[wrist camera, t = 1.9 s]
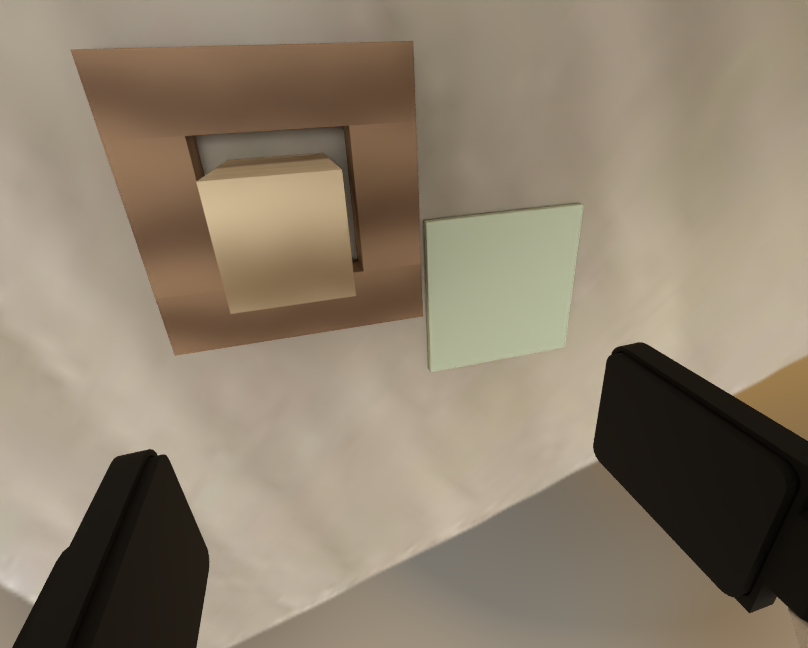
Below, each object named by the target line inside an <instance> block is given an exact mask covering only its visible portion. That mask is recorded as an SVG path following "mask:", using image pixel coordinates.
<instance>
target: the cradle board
mask: <svg viewBox="0 0 808 648" xmlns="http://www.w3.org/2000/svg"><path fill="white" fill-rule="evenodd" d="M71 52H72V55H73V58H74V61H75V64H76V67H77V70H78V73H79V76H80V79H81V82H82V85H83V87H84V90H85V93H86V96H87V99H88V102H89V105H90V108H91V111H92V114H93V117H94V120H95V123H96V126H97V128H98V131H99V134H100V137H101V140H102V143H103V146H104V149H105V152H106V155H107V158H108V161H109V164H110V167H111V170H112V172H113V175H114V178H115V181H116V184H117V187H118V190H119V193H120V196H121V199H122V202H123V205H124V208H125V211H126V214H127V216H128V219H129V222H130V225H131V228H132V231H133V234H134V237H135V240H136V243H137V246H138V249H139V252H140V255H141V258H142V260H143V263H144V266H145V269H146V272H147V275H148V278H149V281H150V284H151V287H152V290H153V293H154V296H155V299H156V301H157V304H158V307H159V310H160V313H161V316H162V319H163V322H164V325H165V328H166V331H167V334H168V337H169V340H170V343H171V345H172V348H173V351H174V354H175V355H181V354H188V353H194V352H200V351H207V350H213V349H219V348H226V347H232V346H238V345H245V344H251V343H257V342H263V341H270V340H276V339H282V338H289V337H295V336H301V335H308V334H314V333H320V332H327V331H333V330H339V329H345V328H352V327H358V326H364V325H371V324H377V323H383V322H390V321H396V320H402V319H409V318H415V317H421V316H423V301H422V273H421V246H420V218H419V191H418V163H417V136H416V108H415V80H414V53H413V41H401V42H360V43H320V44H279V45H238V46H198V47H157V48H116V49H75V50H71ZM335 126H344V134H345V143H346V153H347V162H348V172H349V181H350V191H351V200H352V210H353V219H354V229H355V238H356V248H357V257H358V260H354V261H352V264H353V273H354V282H355V291H356V296H352V297H345V298H338V299H331V300H324V301H317V302H310V303H303V304H296V305H289V306H282V307H276V308H269V309H262V310H255V311H248V312H241V313H234V314H230V310H229V306H228V302H227V298H226V295H225V291H224V287H223V283H222V279H221V275H220V271H219V268H218V264H217V260H216V256H215V252H214V248H213V244H212V241H211V237H210V233H209V229H208V225H207V221H206V217H205V214H204V210H203V206H202V202H201V198H200V194H199V190H198V187H197V183H196V181H198V180H199V179H201V178H202V177H204V172H203V168H202V164H201V160H200V156H199V152H198V148H197V144H196V140H195V136H194V135H209V134H224V133H240V132H256V131H272V130H288V129H303V128H319V127H335Z"/></svg>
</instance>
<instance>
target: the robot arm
mask: <svg viewBox="0 0 808 648" xmlns="http://www.w3.org/2000/svg"><path fill="white" fill-rule="evenodd" d="M593 449H594V453H595V455H596V457H597V459H598V460H599V462H600V463H601V464H602V465H603V466H604V467H605V468H606V469H607V470H608V471H609V472H610V473H611V474H612V475H613V477H614V478H616V480H617V481H618V482H619V483H620V484H621V485H622V486H623V487H624V488H625V489H626V490H627V491H628V492H629V493H630V495H632V497H633V498H634V499H635V500H636V501H637V502H638V503H639V504H640V505H641V506H642V507H643V508H644V509H645V510H646V512H648V514H649V515H650V516H651V517H652V518H653V519H654V520H655V521H656V522H657V523H658V524H659V525H660V526H661V527H662V528H663V530H664V531H665V532H666V533H667V534H668V535H669V536H670V537H671V538H672V539H673V540H674V541H675V542H676V543H677V544H678V545H679V546H680V548H681V549H682V550H683V551H684V552H685V553H686V554H687V555H688V556H689V557H690V558H691V559H692V560H693V561H694V562H695V563H696V565H697V566H698V567H699V568H700V569H701V570H702V571H703V572H704V573H705V574H706V575H707V576H708V577H709V578H710V579H711V580H712V581H713V582H714V583H715V585H716V586H717V587H718V588H719V589H720V590H721V591H722V592H724V593H725V594H727V595H728V596H731V597H734V598H735V599H736V600H737V601H738V602H739V603H740V604H741V605H742V606H743V607H744V608H745V609H746V610H747V611H748V612H749V613H751V612H754V611H756V610H759V609H761V608H764V607H767V606H769V605H772V604H773V603H774V601H775V599H776V597H778V598H779V599H781V601H782V602H784V603H785V604H786V605H787V606H788V610H789V613H790V616H791V620H792V623H793V626H794V630H795V633H796V636H797V640H798V643H799V646H800V648H808V441H807V440H805V439H803V438H801V437H800V436H798V435H796V434H795V433H793V432H792V431H790V430H788V429H787V428H785V427H783V426H782V425H780V424H778V423H777V422H775V421H773V420H772V419H770V418H768V417H767V416H765V415H763V414H762V413H760V412H759V411H757V410H755V409H754V408H752V407H750V406H749V405H747V404H745V403H744V402H742V401H740V400H739V399H737V398H735V397H734V396H732V395H730V394H729V393H727V392H725V391H724V390H722V389H720V388H719V387H717V386H715V385H714V384H712V383H710V382H709V381H707V380H705V379H704V378H702V377H700V376H699V375H697V374H695V373H694V372H692V371H690V370H689V369H687V368H685V367H684V366H682V365H680V364H679V363H677V362H675V361H674V360H672V359H670V358H669V357H667V356H666V355H664V354H662V353H661V352H659V351H657V350H656V349H654V348H652V347H651V346H649V345H647V344H645V343H640V342H638V343H634V344H629V345H624V346H620V347H617V348H615V349H614V350H613V351H612V354H611V355H610V356H609V357H608V359H607V362H606V369H605V375H604V381H603V387H602V394H601V400H600V406H599V412H598V419H597V425H596V431H595V437H594V443H593ZM208 572H209V554H208V550H207V547H206V545H205V542H204V540H203V538H202V535H201V533H200V530H199V528H198V526H197V523H196V521H195V519H194V516H193V514H192V512H191V509H190V507H189V505H188V502H187V500H186V498H185V495H184V493H183V491H182V488H181V486H180V484H179V481H178V479H177V477H176V474H175V472H174V470H173V467H172V465H171V463H170V460H169V458H168V457H167V456H166V455H159V456H158V455H157V453H156V452H155V451H154V450H151V449H149V450H144V451H140V452H135V453H130V454H126V455H121V456H117V457H116V458H114V459H113V461H112V462H111V464H110V466H109V468H108V470H107V472H106V474H105V476H104V478H103V480H102V482H101V484H100V486H99V488H98V490H97V492H96V494H95V496H94V498H93V500H92V502H91V504H90V506H89V508H88V510H87V512H86V514H85V516H84V518H83V520H82V522H81V524H80V526H79V528H78V530H77V532H76V534H75V536H74V538H73V540H72V542H71V544H70V546H69V547H68V548H67V549H66V550H64V551H63V552H62V554H61V555H60V557H59V558H58V560H57V561H56V563H55V565H54V567H53V569H52V571H51V573H50V575H49V577H48V579H47V581H46V583H45V585H44V587H43V589H42V591H41V592H40V594H39V596H38V598H37V600H36V602H35V604H34V606H33V608H32V610H31V612H30V614H29V616H28V618H27V620H26V622H25V624H24V626H23V628H22V630H21V631H20V634H19V635H18V637H17V639H16V641H15V643H14V645H13V647H12V648H196V647H197V640H198V634H199V628H200V622H201V616H202V609H203V603H204V597H205V591H206V585H207V578H208Z"/></svg>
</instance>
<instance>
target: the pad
mask: <svg viewBox="0 0 808 648" xmlns="http://www.w3.org/2000/svg"><path fill="white" fill-rule="evenodd" d="M583 206H584V204H580V203H575V204H566V205H557V206H548V207H539V208H530V209H521V210H512V211H503V212H494V213H485V214H476V215H467V216H458V217H450V218H441V219H432V220H424V243H425V274H426V306H427V337H428V368H429V370H430V372H435V371H441V370H446V369H451V368H457V367H462V366H468V365H473V364H478V363H484V362H489V361H494V360H500V359H505V358H510V357H516V356H521V355H527V354H532V353H537V352H543V351H548V350H553V349H559V348H564V347H565V341H566V334H567V326H568V319H569V311H570V304H571V296H572V289H573V281H574V274H575V266H576V259H577V251H578V244H579V236H580V229H581V221H582V214H583Z"/></svg>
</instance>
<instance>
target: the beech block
mask: <svg viewBox="0 0 808 648" xmlns="http://www.w3.org/2000/svg"><path fill="white" fill-rule="evenodd" d="M196 183H197V187H198V190H199V194H200V198H201V202H202V206H203V210H204V214H205V217H206V221H207V225H208V229H209V233H210V237H211V241H212V244H213V248H214V252H215V256H216V260H217V264H218V268H219V271H220V275H221V279H222V283H223V287H224V291H225V295H226V298H227V302H228V306H229V310H230V314H234V313H241V312H248V311H255V310H262V309H269V308H276V307H282V306H289V305H296V304H303V303H310V302H317V301H324V300H331V299H338V298H345V297H352V296H356V291H355V282H354V273H353V264H352V255H351V246H350V237H349V228H348V219H347V210H346V201H345V192H344V183H343V174H342V169H341V168H340V167H338V166H337V165H336V164H335V163H334V162H333V161H331V160H330V159H329V158H328V157H327V156H326V155H324V154H323V153H315V154H301V155H288V156H275V157H261V158H248V159H235V160H227V161H225V162H224V163H223V164H221V165H220V166H218V167H217V168H215V169H214V170H212V171H211V172H210V173H208V174H207V175H205V176H204V177H202V178H201V179H199V180H198V181H196Z"/></svg>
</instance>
